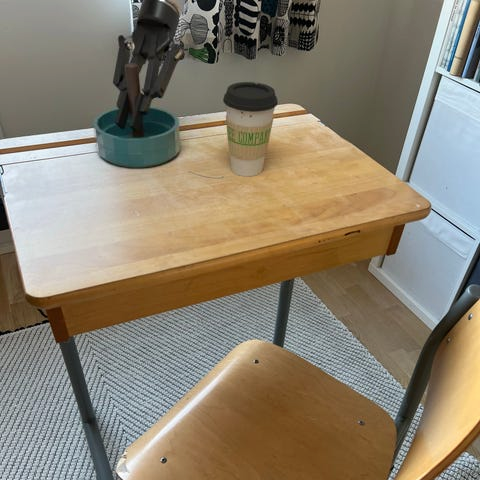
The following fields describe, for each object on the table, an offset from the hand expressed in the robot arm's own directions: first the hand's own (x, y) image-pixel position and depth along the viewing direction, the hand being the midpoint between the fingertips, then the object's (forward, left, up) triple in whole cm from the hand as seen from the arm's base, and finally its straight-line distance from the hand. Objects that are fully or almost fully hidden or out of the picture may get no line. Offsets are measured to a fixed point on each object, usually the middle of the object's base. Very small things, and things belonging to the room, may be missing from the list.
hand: (126, 127), depth 98 cm
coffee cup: (+21, +10, -7) cm, 24 cm away
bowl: (-1, +4, -6) cm, 7 cm away
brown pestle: (-1, +4, -6) cm, 7 cm away
